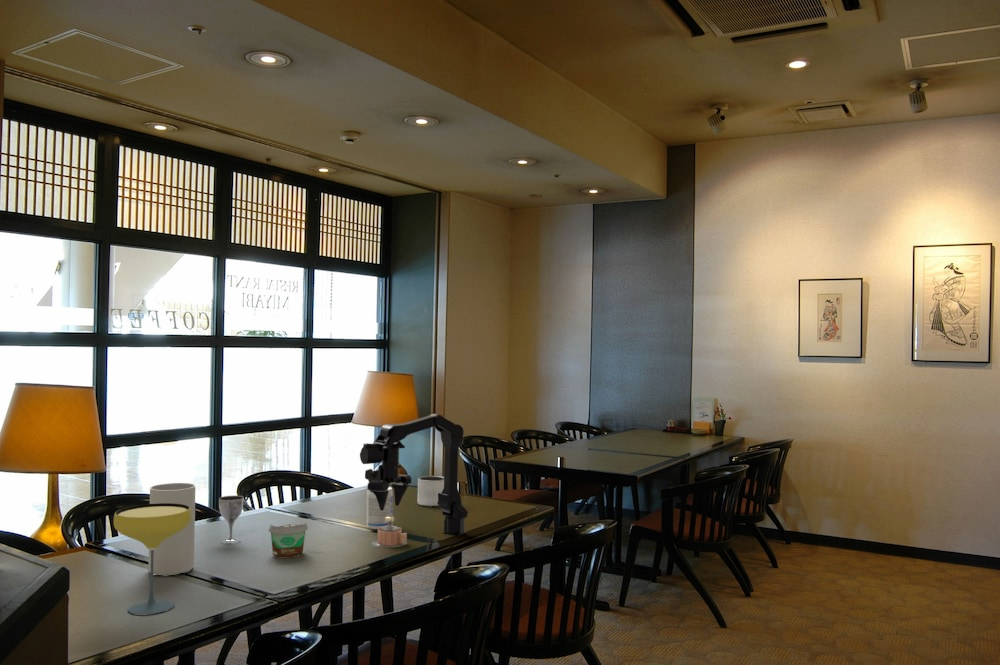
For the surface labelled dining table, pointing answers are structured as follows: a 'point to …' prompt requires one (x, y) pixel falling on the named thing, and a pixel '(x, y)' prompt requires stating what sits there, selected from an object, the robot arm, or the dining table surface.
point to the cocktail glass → (152, 537)
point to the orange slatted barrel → (391, 536)
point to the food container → (288, 540)
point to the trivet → (386, 546)
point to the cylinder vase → (179, 547)
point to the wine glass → (231, 510)
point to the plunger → (389, 521)
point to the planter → (429, 490)
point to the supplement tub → (378, 510)
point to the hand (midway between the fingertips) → (389, 507)
